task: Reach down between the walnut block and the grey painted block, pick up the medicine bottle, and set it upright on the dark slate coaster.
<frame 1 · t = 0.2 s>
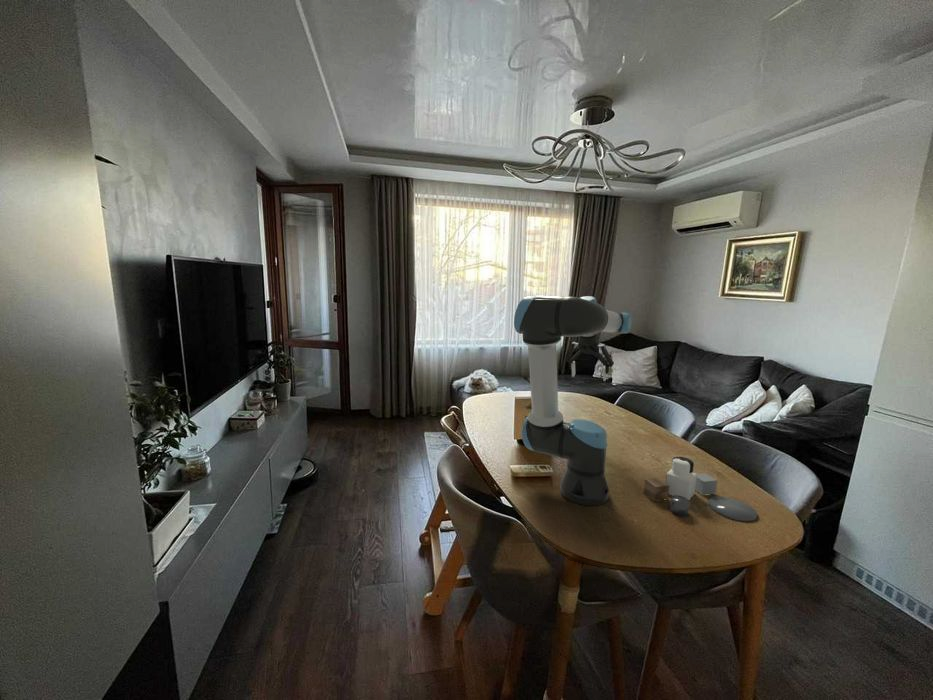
hand: (589, 377, 168), 28 cm above the table, tool tilted 20°, fingers open, 13 cm apart
slate coaster: (731, 509, 116), on the table
medicine bottle: (679, 494, 125), on the table
walnut block: (655, 496, 123), on the table
metal tin: (678, 512, 115), on the table
grey block: (702, 491, 127), on the table
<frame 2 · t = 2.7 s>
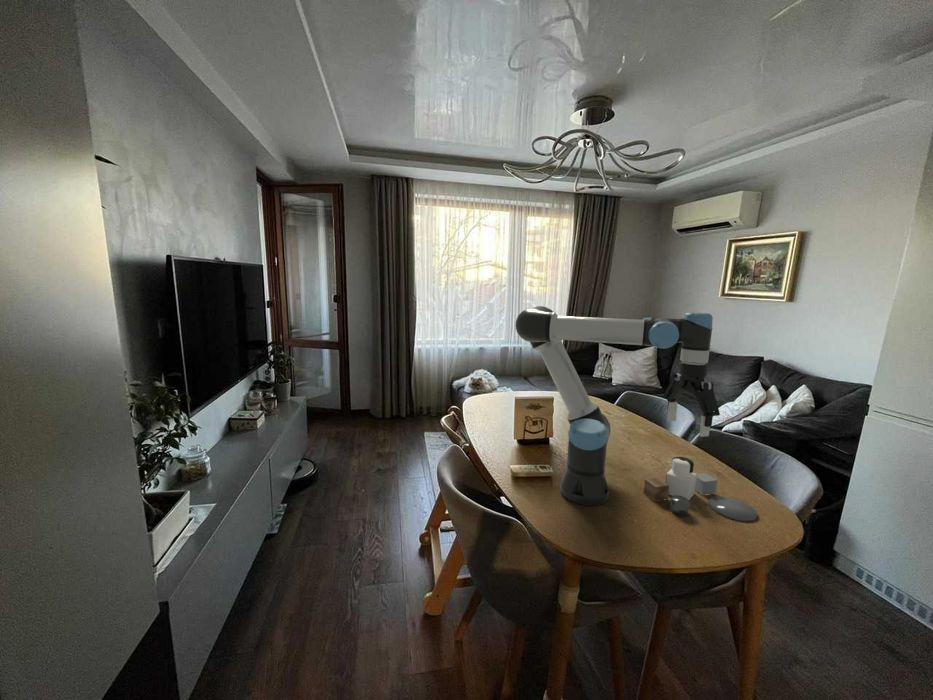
hand: (686, 428, 122), 22 cm above the table, tool pointing down, fingers open, 13 cm apart
nothing on the table moved.
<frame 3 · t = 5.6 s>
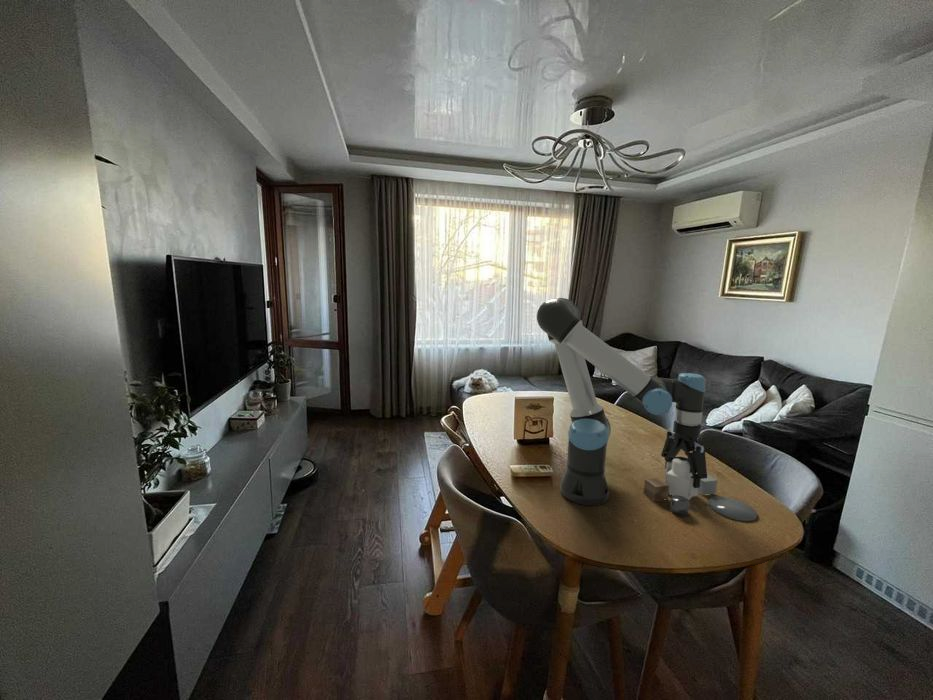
hand: (680, 487, 125), 2 cm above the table, tool pointing down, fingers closed on medicine bottle, 10 cm apart
medicine bottle: (679, 494, 125), on the table, touching gripper
everything else where it was.
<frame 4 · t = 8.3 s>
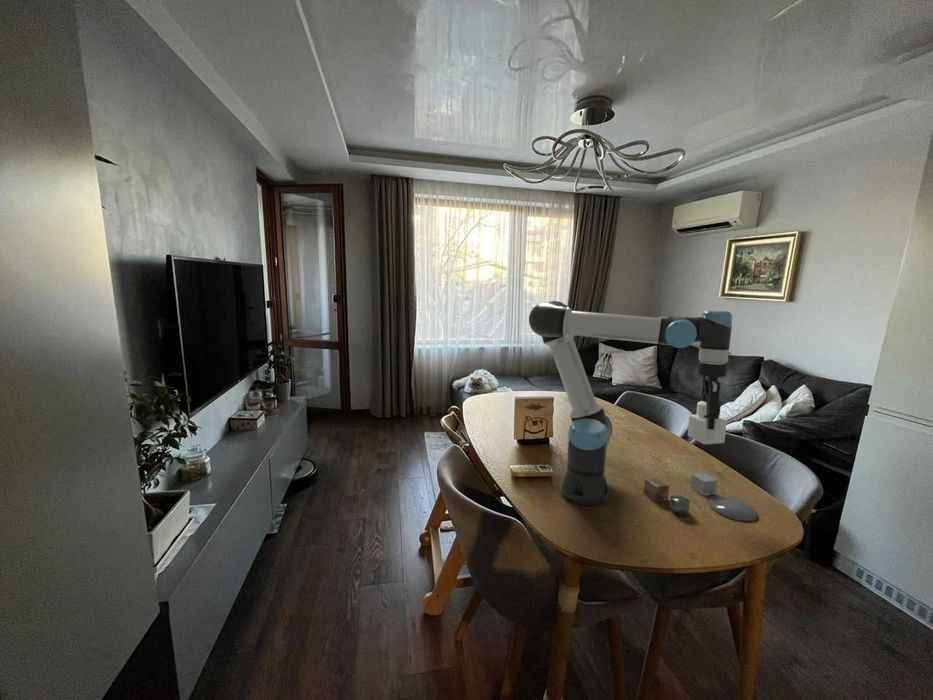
hand: (706, 433, 118), 22 cm above the table, tool pointing down, fingers closed on medicine bottle, 10 cm apart
medicine bottle: (705, 440, 119), point 20 cm above the table, touching gripper
everything else where it was.
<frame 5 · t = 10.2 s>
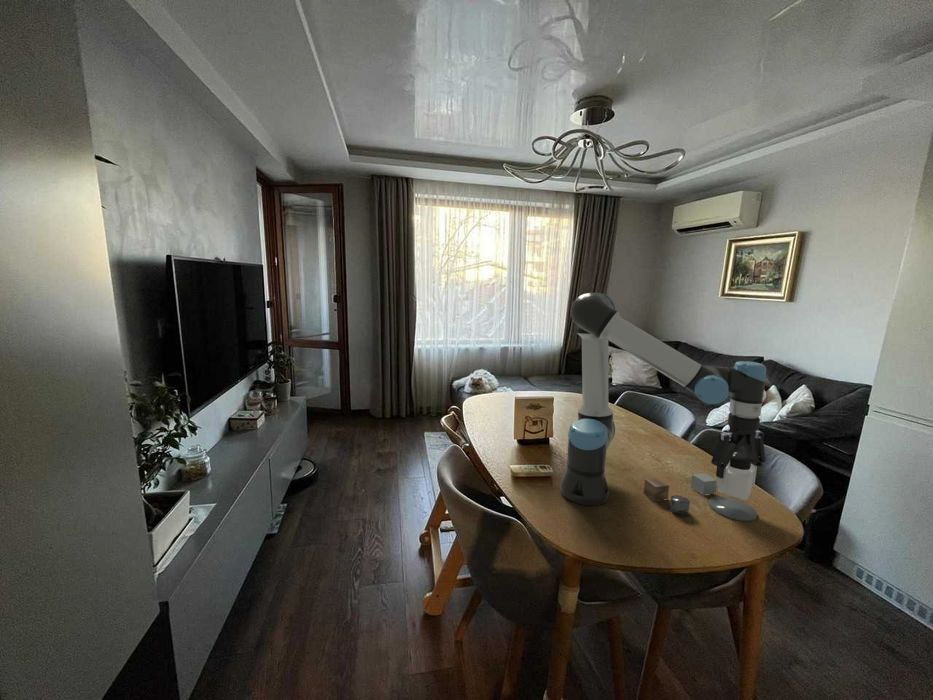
hand: (735, 485, 115), 8 cm above the table, tool pointing down, fingers closed on medicine bottle, 10 cm apart
medicine bottle: (734, 493, 115), point 5 cm above the table, touching gripper
everything else where it was.
when the fingers open (4 cm above the table, at t = 11.5 s): medicine bottle drops 1 cm, resting on slate coaster.
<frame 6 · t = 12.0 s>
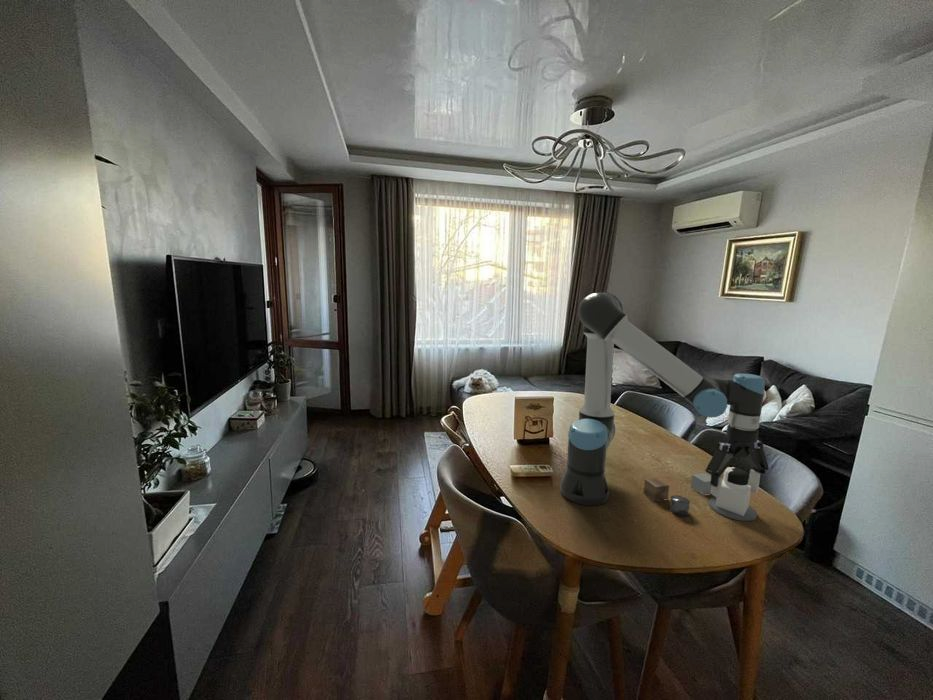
hand: (734, 493, 115), 5 cm above the table, tool pointing down, fingers open, 13 cm apart
medicine bottle: (731, 507, 116), point 1 cm above the table, touching slate coaster
everything else where it was.
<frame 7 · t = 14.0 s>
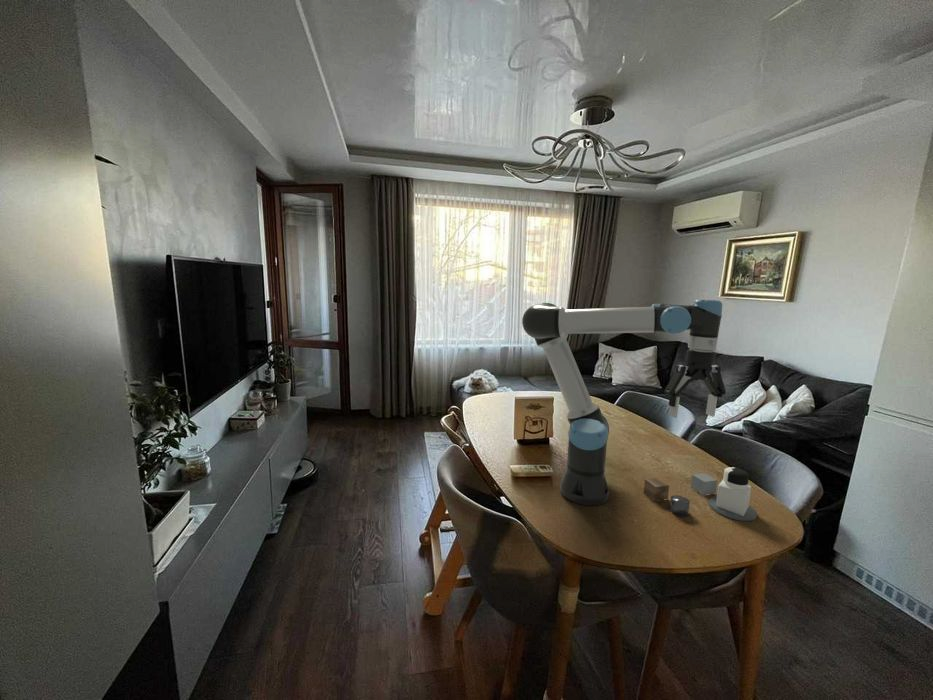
hand: (691, 415, 121), 26 cm above the table, tool pointing down, fingers open, 13 cm apart
nothing on the table moved.
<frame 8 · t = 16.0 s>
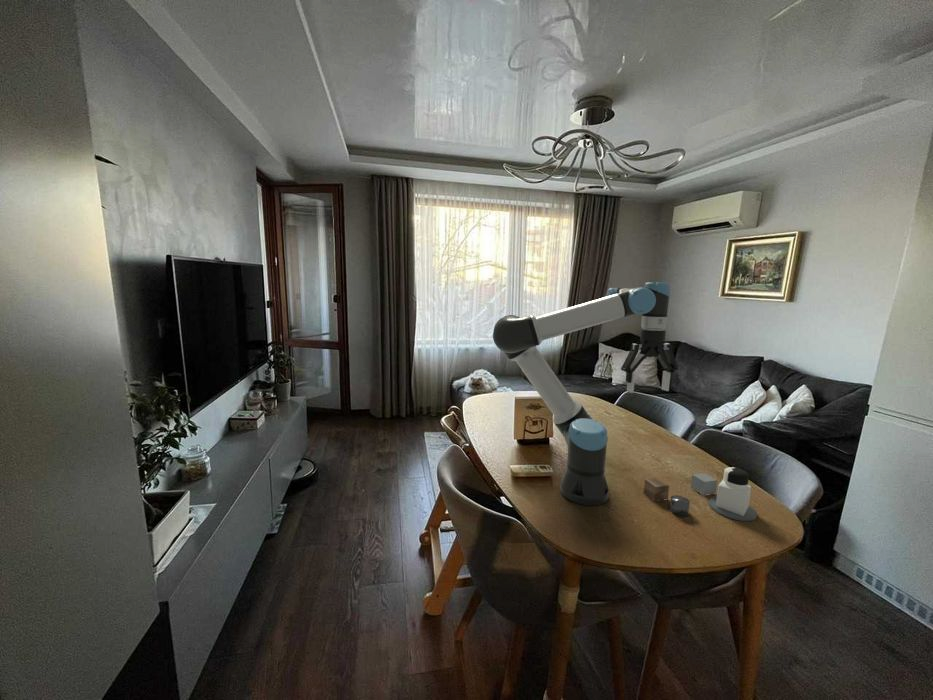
hand: (647, 391, 130), 32 cm above the table, tool pointing down, fingers open, 13 cm apart
nothing on the table moved.
at the end: medicine bottle 0.1 cm off-centre on the slate coaster, point 0.6 cm above the slate coaster's base; medicine bottle tilted 0°; the gripper is holding nothing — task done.
